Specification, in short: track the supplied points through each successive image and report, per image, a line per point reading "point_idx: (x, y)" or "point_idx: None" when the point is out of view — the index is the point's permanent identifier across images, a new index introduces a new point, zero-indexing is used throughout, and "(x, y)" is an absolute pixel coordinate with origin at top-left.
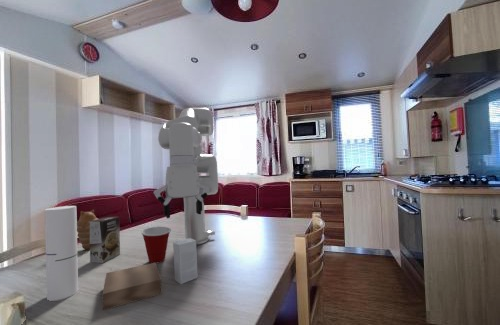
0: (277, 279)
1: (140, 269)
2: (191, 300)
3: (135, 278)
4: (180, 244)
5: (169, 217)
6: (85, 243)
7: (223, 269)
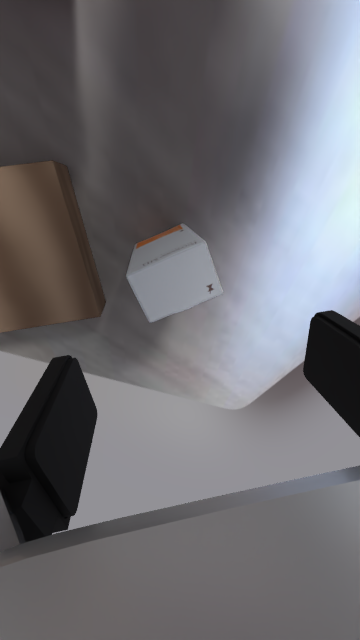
0: None
1: (9, 212)
2: (167, 346)
3: (20, 283)
4: (156, 319)
5: (93, 413)
6: None
7: (272, 235)
